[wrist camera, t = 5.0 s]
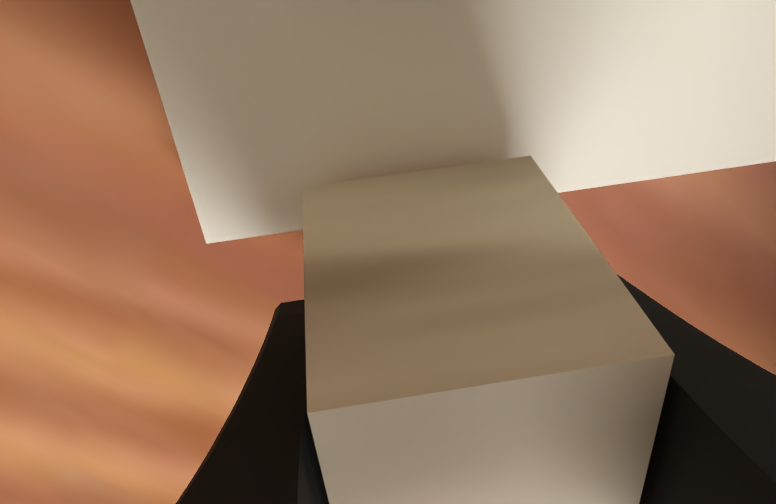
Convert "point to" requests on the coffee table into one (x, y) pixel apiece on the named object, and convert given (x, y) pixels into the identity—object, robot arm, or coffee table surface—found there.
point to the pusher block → (472, 344)
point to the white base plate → (452, 92)
